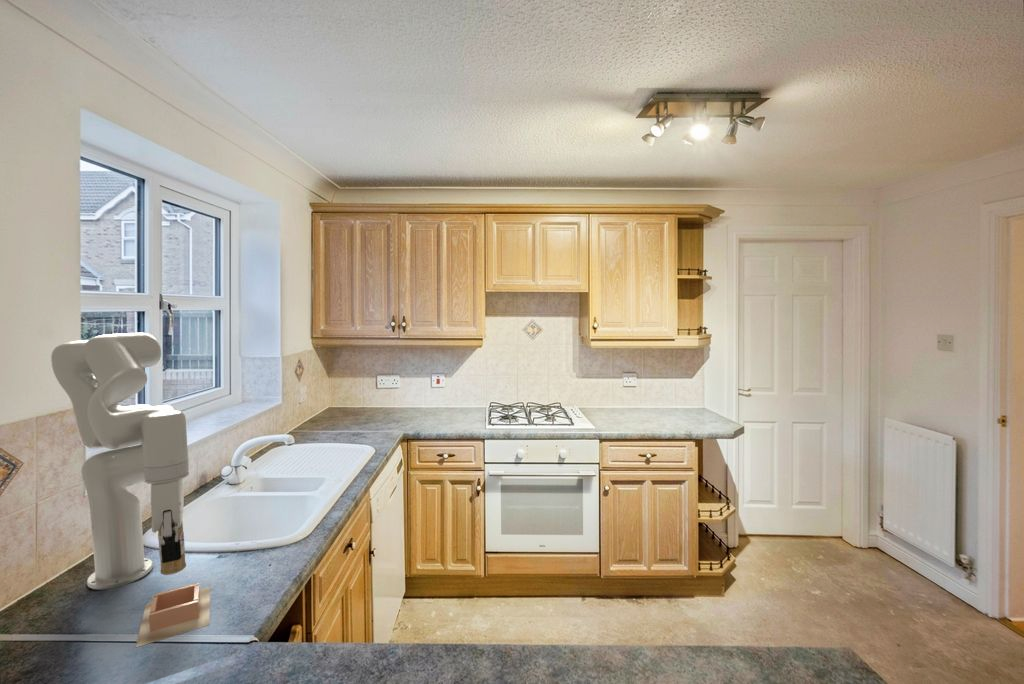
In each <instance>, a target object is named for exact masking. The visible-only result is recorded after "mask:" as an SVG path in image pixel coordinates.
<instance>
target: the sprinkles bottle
mask: <svg viewBox="0 0 1024 684" xmlns="http://www.w3.org/2000/svg"><path fill="white" fill-rule="evenodd" d="M173 526H175V524H172V527H173ZM173 532H174V534H175V530H172V533H173ZM184 534H185V533H184V524H183V522H182V523H181V526H180V527H178V540H180V545H181V559H179V560H175V561H171V562H167V563H162V553H161V544H162V538H161V526H160V529H159V531H157V539H158V552H159V554H158V555H159V559H160V570H159V571H160V574H161V575H164V576H167V575H169V576H170V575H174V574H177V573H179V572H181V571H183V570H184V569H185V568H186V567H187V562H186V553H185V552H186V548H185V535H184Z"/></svg>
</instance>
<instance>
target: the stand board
mask: <svg viewBox="0 0 1024 684" xmlns="http://www.w3.org/2000/svg"><path fill="white" fill-rule="evenodd" d="M151 605H152V601H151V602H148V603H145V607H144V611H143V615H142V619H141V624H140V627H139V632H138V635H137V639H136V643H135V648H138V647H142V646H145V645H148V644H152V643H155V642H160V641H162V640H165V639H168V638H169V639H170V638H171V637H175V636H179V635H180V634H184V633H188V632H191V631H194V630H197V629H200V628H201V629H202V628H204V627H207V626H208V627H209V626H210V624H211V623H210V622H211V621H210V620H211V619H210V615H211V610H210V609H211V586H205V587H203V588H200V609H199V618H196V619H193V620H189V621H186V622H182V623H179V624H176V625H172V626H169V627H166V628H162V629H159V630H155V631H152V632H150V620H149V614H150V609H151Z"/></svg>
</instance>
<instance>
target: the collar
mask: <svg viewBox="0 0 1024 684" xmlns="http://www.w3.org/2000/svg"><path fill="white" fill-rule="evenodd" d="M200 589H201V588H200V582H197V583H193V584H190V585H185V586H181V587H177V588H174V589H171V590H167V591H162V592H159V593H155V594H153V596H152V601H151V602H152V605H151V609H150V614H149V620H150V632H152V631H155V630H159V629H162V628H166V627H169V626H172V625H176V624H179V623H182V622H186V621H189V620H193V619H196V618H199V609H200Z"/></svg>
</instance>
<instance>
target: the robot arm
mask: <svg viewBox="0 0 1024 684" xmlns="http://www.w3.org/2000/svg"><path fill="white" fill-rule="evenodd" d="M161 356H162V349H161V345H160V343H159V341H158V339H157V338H155V336H153V335H152V334H150V333H146V332H135V333H134V332H131V333H127V332H126V333H112V334H111V333H109V334H108V333H107V334H102V335H97V336H94V337H92V338H90V339H84V340H83V339H82V340H74V341H68V342H65V343H61V344H58V346H56V347H55V348H54V349H53V350H52V352H51V357H50V358H51V359H50V360H51V368H52V370H53V374H54V377H55V378H56V380H57V382H58V384H59V385H60V386H61V388H62V389H63V391H64V392H65V393H66V394H67V396H68V398H69V399H70V402H71V404H72V408H73V412H74V417H75V420H76V424H77V428H78V432H79V435H80V438H81V440H82V443H83V444H84V446H86V448H88V449H93V450H96V449H97V450H98V449H109V450H107V451H103V452H100V453H96V454H94V455H92V456H90V457H88V459H86V460H85V461H84V462H83V464H82V466H81V476H82V477H81V478H82V480H83V481H82V482H83V484H84V486H85V490H86V493H87V498H88V505H89V513H90V515H89V516H90V524H91V526H90V527H91V539H92V548H93V549H92V551H93V561H94V572H93V573H91V574H90V575H89V576H88V577H87V581H86V583H87V587H88V588H90V589H92V590H99V591H100V590H109V589H113V588H116V587H121V586H124V585H128V584H130V583H133V582H136V581H138V580H140V579H141V578H143V577H145V576H146V575H147V574H149V573H150V572H151V571H152V569H153V567H154V566H153V563H154V562H153V560H152V559H150V558H145V550H144V549H145V546H144V534H143V533H144V532H143V521H142V505H141V501H140V499H139V498H138V496H136V495H135V493H134V494H133V493H132V492H130V491H128V490H127V488H129V487H131V486H134V485H138V484H139V485H140V484H142V483H145V484H147V485H150V511H151V512H150V513H151V517H150V518H151V532H152V533H154V534H155V533H157V532H158V531H159V529H160V526H161V538H162V544H161V553H162V563H167V562H171V561H175V560H179V559H181V545H180V540H178V527H180V526H181V523H183V516H184V507H185V505H184V502H185V501H184V497H185V496H184V495H185V494H184V480H183V479H185V478H187V477H188V476H190V467H189V465H190V464H189V463H190V462H189V453H188V452H189V451H188V438H187V437H188V434H187V422H186V421H187V420H186V415H185V414H184V412H182V411H180V410H176V409H175V407H173V406H171V405H167V404H165V405H164V404H163V405H153V406H152V405H150V404H147V403H146V404H134V405H126V406H122V405H120V403H121V402H123V401H125V400H127V399H129V398H131V397H133V396H134V395H136V394H138V393H139V392H141V391H142V390H143V388H144V387H145V386H146V385H147V382H148V375H147V373H146V372H145V369H144V368H149V367H153V366H156V365H157V364H158V363H159V362H160V360H161ZM172 524H175V526H173V527H172ZM172 530H175V534H174V532H173V533H172Z"/></svg>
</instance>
